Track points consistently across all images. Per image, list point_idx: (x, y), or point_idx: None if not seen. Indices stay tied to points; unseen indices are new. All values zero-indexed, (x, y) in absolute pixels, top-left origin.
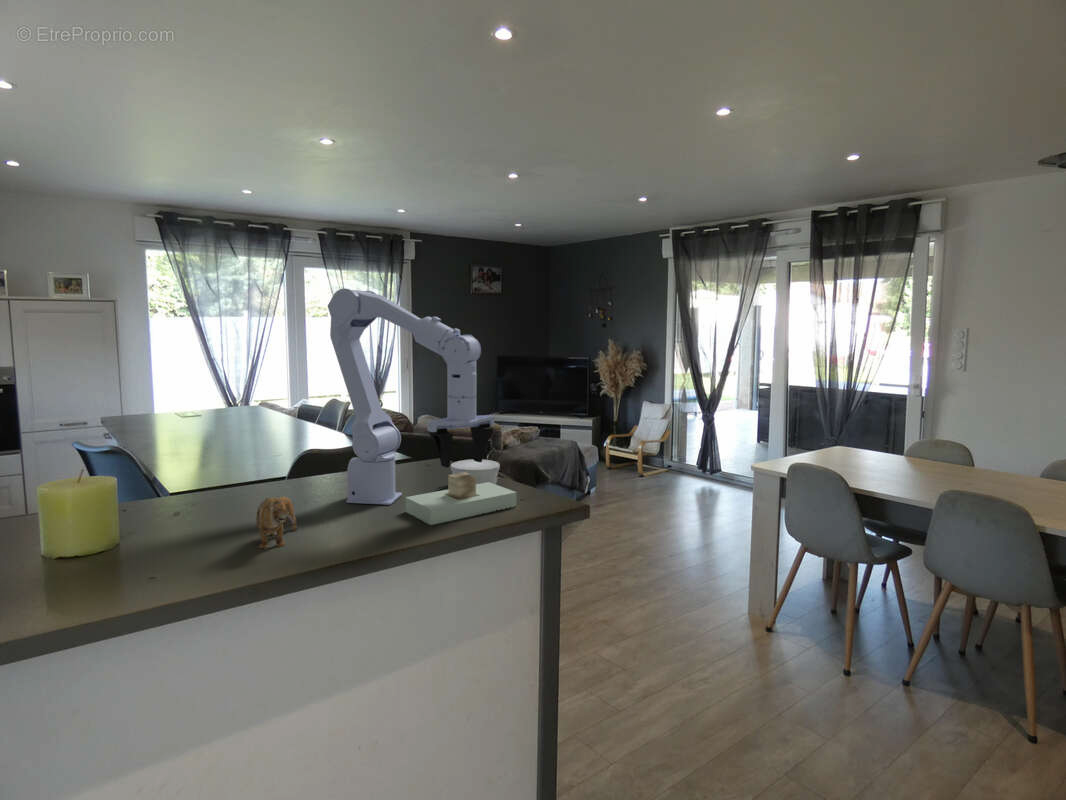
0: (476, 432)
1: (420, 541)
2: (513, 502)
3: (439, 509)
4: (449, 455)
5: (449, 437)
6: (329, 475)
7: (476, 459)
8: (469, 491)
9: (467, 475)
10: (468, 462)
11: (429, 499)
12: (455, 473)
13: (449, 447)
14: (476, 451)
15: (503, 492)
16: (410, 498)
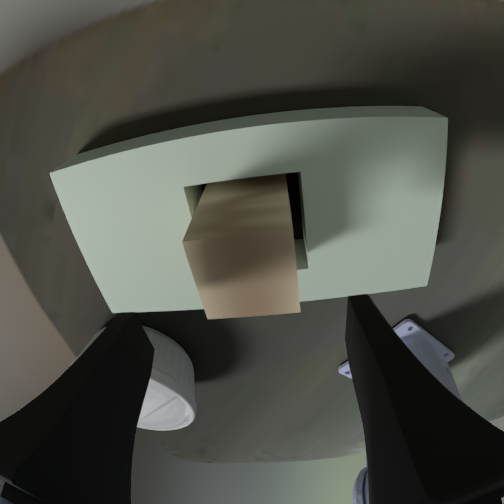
0: (98, 487)
1: (491, 12)
2: (77, 156)
3: (411, 114)
4: (376, 345)
5: (458, 466)
6: (365, 452)
7: (142, 341)
8: (231, 201)
9: (218, 271)
10: (142, 417)
11: (388, 230)
12: (191, 392)
13: (399, 395)
14: (129, 380)
15: (89, 187)
16: (425, 268)
